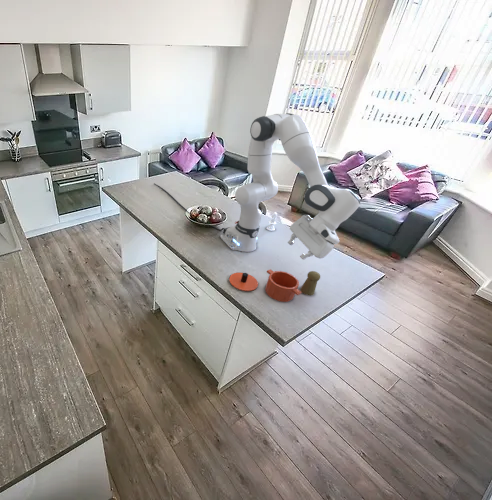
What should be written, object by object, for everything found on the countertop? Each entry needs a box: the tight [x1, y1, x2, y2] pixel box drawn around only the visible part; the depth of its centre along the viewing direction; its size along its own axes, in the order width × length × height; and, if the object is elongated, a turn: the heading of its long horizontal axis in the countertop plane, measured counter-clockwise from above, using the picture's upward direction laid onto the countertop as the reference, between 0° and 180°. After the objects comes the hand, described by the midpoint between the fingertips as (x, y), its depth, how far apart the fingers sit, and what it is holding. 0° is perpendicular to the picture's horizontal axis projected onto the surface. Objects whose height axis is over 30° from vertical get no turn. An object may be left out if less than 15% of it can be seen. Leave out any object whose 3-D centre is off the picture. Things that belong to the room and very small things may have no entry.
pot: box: [264, 268, 303, 303], centre depth 135 cm, size 13×18×8 cm
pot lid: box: [228, 272, 259, 292], centre depth 141 cm, size 14×14×5 cm
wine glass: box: [265, 211, 278, 232], centre depth 184 cm, size 5×5×12 cm
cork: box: [299, 270, 321, 296], centre depth 135 cm, size 6×6×11 cm
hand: (295, 250), depth 123 cm, fingers open, 8 cm apart
